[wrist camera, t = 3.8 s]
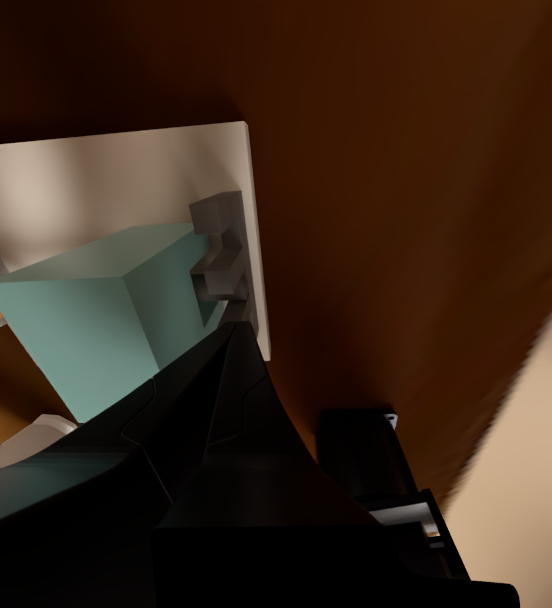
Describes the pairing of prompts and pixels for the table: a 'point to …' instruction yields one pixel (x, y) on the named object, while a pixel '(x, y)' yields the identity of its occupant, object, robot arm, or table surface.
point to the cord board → (141, 204)
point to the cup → (34, 438)
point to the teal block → (110, 312)
